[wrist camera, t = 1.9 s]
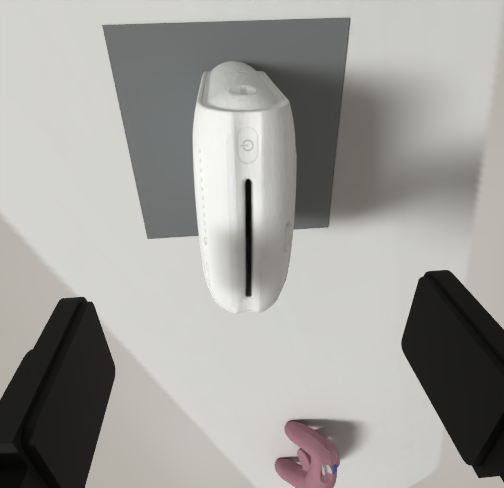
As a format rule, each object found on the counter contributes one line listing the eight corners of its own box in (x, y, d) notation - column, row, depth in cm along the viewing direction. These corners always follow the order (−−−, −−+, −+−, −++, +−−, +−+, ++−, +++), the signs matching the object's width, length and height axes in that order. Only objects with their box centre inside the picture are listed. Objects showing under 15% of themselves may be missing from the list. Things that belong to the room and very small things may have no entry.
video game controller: (298, 449, 50) (332, 499, 45) (270, 466, 47) (303, 521, 42) (312, 405, 44) (353, 457, 39) (281, 422, 42) (321, 479, 37)
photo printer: (196, 58, 21) (178, 104, 11) (268, 58, 22) (317, 102, 11) (207, 213, 27) (202, 340, 17) (264, 211, 27) (295, 334, 17)
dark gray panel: (103, 25, 20) (102, 25, 20) (348, 17, 21) (349, 17, 21) (148, 237, 28) (147, 239, 28) (327, 225, 29) (328, 227, 29)
